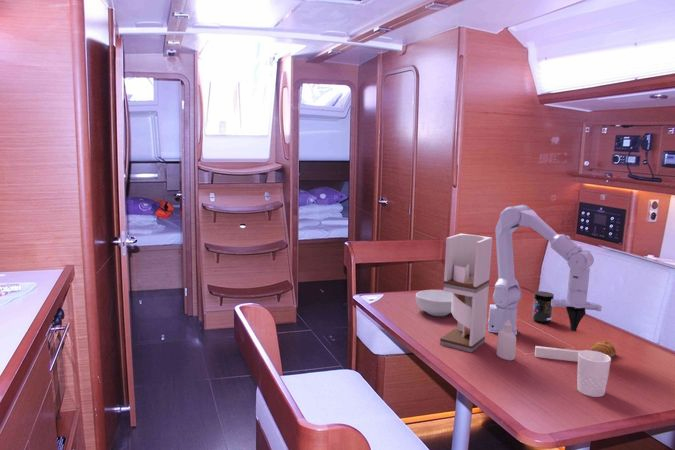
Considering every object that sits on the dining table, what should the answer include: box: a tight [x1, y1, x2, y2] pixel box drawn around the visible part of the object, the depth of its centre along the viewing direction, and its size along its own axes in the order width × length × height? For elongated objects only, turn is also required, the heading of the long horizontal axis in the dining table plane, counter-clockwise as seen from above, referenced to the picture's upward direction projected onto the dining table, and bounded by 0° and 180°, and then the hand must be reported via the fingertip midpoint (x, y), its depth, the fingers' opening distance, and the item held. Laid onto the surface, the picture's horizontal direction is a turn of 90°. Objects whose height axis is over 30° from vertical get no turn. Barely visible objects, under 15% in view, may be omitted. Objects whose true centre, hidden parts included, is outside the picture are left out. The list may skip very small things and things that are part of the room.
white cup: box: [576, 349, 612, 398], centre depth 144 cm, size 8×8×10 cm
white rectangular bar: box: [534, 345, 581, 363], centre depth 166 cm, size 14×2×3 cm, turn 76°
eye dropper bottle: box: [496, 320, 517, 361], centre depth 165 cm, size 4×6×12 cm
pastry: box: [589, 340, 617, 359], centre depth 170 cm, size 9×7×4 cm
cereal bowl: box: [415, 289, 452, 317], centre depth 207 cm, size 17×17×7 cm
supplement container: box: [531, 290, 555, 325], centre depth 200 cm, size 7×7×10 cm
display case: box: [439, 233, 493, 353], centre depth 174 cm, size 11×11×35 cm
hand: (573, 330), depth 173 cm, fingers closed
